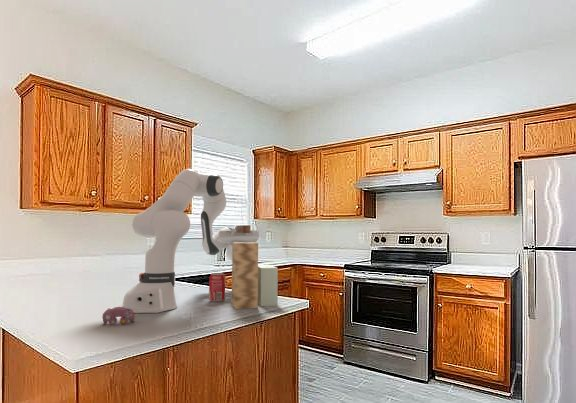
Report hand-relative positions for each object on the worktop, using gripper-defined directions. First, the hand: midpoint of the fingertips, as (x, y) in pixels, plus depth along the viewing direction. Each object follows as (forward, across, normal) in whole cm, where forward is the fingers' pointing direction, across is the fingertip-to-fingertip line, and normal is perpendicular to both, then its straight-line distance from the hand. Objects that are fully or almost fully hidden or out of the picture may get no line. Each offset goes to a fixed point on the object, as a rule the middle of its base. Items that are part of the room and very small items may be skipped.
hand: (240, 228), depth 193 cm
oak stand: (+7, -2, +41) cm, 42 cm away
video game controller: (+27, -47, +53) cm, 76 cm away
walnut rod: (+6, 0, +6) cm, 8 cm away
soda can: (-5, -12, +35) cm, 37 cm away
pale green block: (+3, +8, +39) cm, 40 cm away
